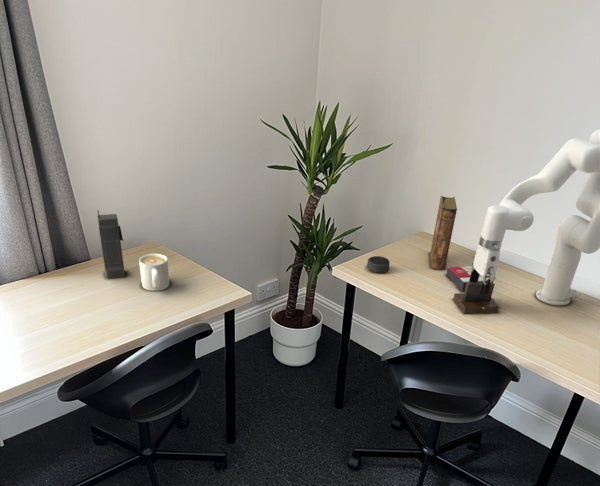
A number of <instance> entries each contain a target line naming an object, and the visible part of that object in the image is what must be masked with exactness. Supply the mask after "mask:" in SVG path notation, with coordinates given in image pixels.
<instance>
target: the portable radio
mask: <svg viewBox="0 0 600 486" xmlns="http://www.w3.org/2000/svg"><path fill="white" fill-rule="evenodd" d="M96 220H97V227H98V232H99V239H100V245H101V253H102V258H103V260H102V261H103V265H104V271H105V272H104V273H105V277H106V278H107V279H117V278H124V277H125V276H126V274H125V266H124V265H125V264H124V257H123V251H122V243H121V241H122V242H124V238H123V233H122V228H121V225H120V224H119V220H118V215H117V213H109V214H100V211H97V214H96Z"/></svg>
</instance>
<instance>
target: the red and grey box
mask: <svg viewBox="0 0 600 486" xmlns="http://www.w3.org/2000/svg"><path fill="white" fill-rule="evenodd" d="M472 267H473V266H472V265H468V266H466V265H465V266H450V267H448V268H447V269H446V277H447V278H449V279H450V281H452V282H453V283H454V284H455V285H456V288H458V290H460V291H461V292H464V291H465V287H466V283H467V282H470V281H469V280H470V276H471V272H472V270H471V269H472ZM487 280H488V278H486V281H487ZM478 282H483V277H482V276H481V275H479V279H478ZM470 283H473V282H470Z"/></svg>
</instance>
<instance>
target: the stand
mask: <svg viewBox="0 0 600 486" xmlns="http://www.w3.org/2000/svg"><path fill="white" fill-rule="evenodd" d="M463 296H464V292H461V293H457V292H456V293H454V294H453V299H452V300H453V302H454V303H455V304H456V305H457V306H458V308H459V309H460V310H461V312H462V313H463V314H465V315H466V314H467V315H468V314H492V313H494V314H495V313H496V314H497V313H499V310H500V305H499V304H498V303H497V302H496V301H495V298H493V297H491V300H490V301H464V300H463Z"/></svg>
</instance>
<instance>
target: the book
mask: <svg viewBox="0 0 600 486" xmlns="http://www.w3.org/2000/svg"><path fill="white" fill-rule="evenodd" d="M457 206H458V205H457V202H456V197H455V196H453V197H449V196H448V197H447V196H443V195H441V196H440V199H439V204H438V210H437V215H436V220H435V226H434V231H433V235H432V236H433V237H432V241H431V247H430V253H429V256H430V268H431V269H433V270H435V271H444V270H445V269H446V265H447V260H448V256H449V255H448V254H449V250H450V245H451V241H452V236H453V232H454V225H455V221H456V218H457V217H456V216H457V212H458V207H457Z"/></svg>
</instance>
